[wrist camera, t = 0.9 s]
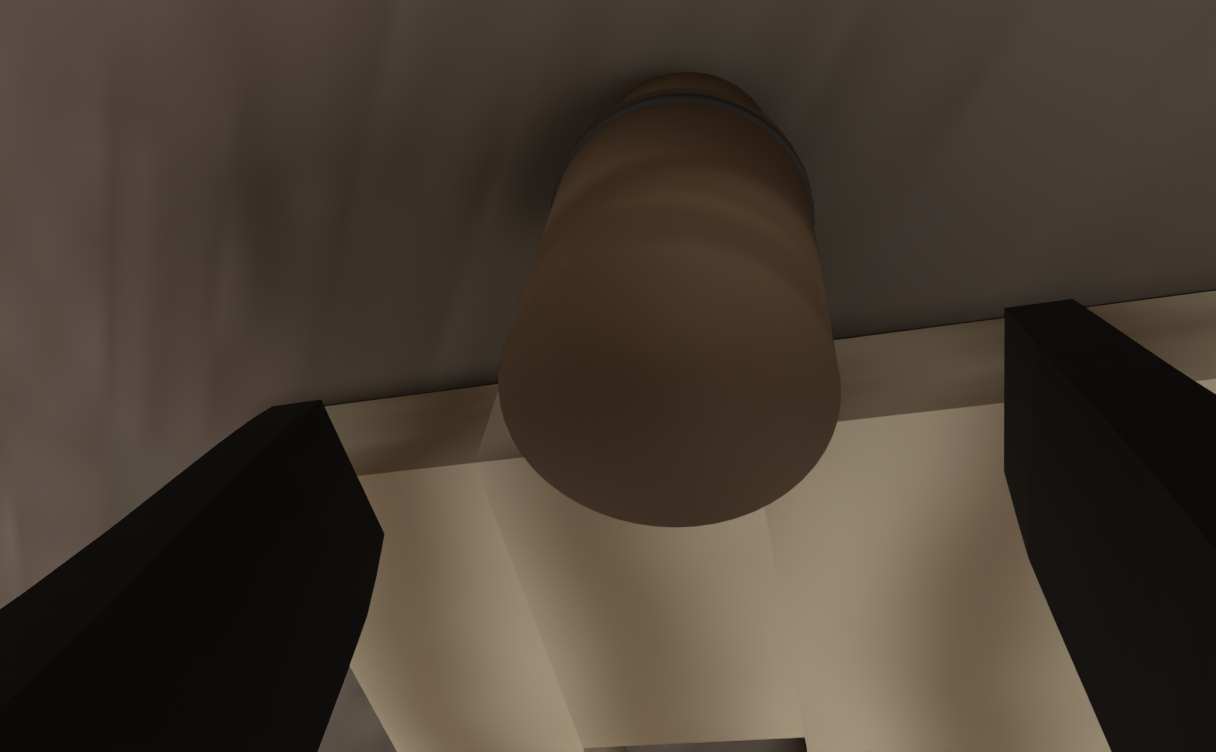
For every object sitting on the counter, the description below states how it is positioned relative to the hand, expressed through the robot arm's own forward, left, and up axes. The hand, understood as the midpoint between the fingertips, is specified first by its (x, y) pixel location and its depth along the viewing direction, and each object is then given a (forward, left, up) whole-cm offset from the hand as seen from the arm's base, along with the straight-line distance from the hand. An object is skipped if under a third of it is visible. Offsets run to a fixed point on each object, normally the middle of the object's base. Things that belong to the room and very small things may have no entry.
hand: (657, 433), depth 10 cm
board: (0, +13, -8) cm, 15 cm away
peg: (0, 0, -8) cm, 8 cm away
